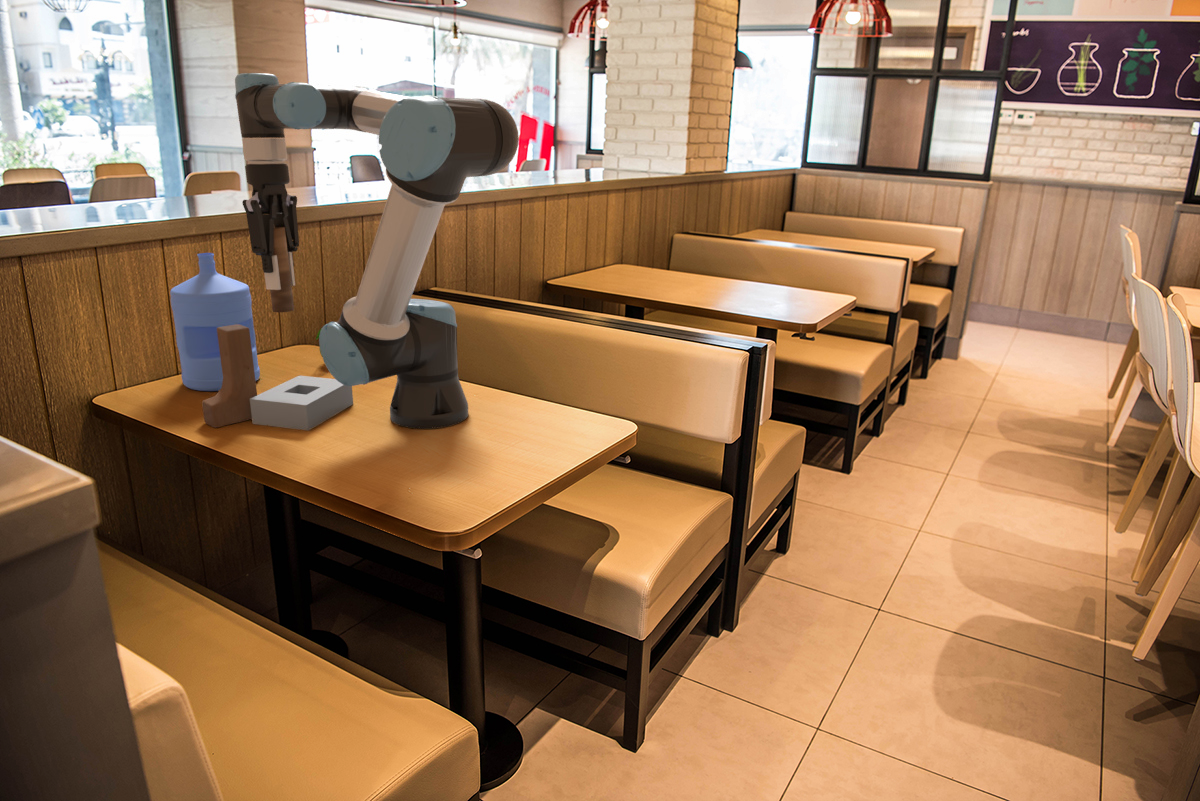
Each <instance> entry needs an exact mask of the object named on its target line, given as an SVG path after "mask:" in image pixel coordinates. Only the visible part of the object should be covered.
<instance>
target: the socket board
mask: <svg viewBox="0 0 1200 801" xmlns="http://www.w3.org/2000/svg"><path fill="white" fill-rule="evenodd" d="M352 405H354V395H353V386H346V385H343V384H341V383H340V382H338V381H337V380H336V379H335V378H327V377H318V376H316V377H315V376H308V375H298V376H295V377H293V378H291V379H289V380H287V381H285V382H283V383H281V384H277V385H276V386H274V387H271V388H269V389H268V390H265V391H263V392H261V393H259V394H257V396H255V397H253V398H251V399H250V406H251V414H252V419H251V420H252V425H260V426H267V425H268V427H277V428H283V429H284V428H285V429H294V430H300V429H301V430H303V431H310V430H312V429H313V428H315V427H317V426H318V425H320V424H322V423H324V422H325V421H328V420H329V419H331V418H333V417H334V416H336V415H337V414H339V413H341V412H342V411H344V410H345V409H347V408H349V407H350V406H352ZM301 430H300V431H301Z"/></svg>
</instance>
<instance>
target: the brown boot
mask: <svg viewBox="0 0 1200 801" xmlns="http://www.w3.org/2000/svg"><path fill="white" fill-rule="evenodd" d="M217 336H218V343H219V351H220V358H221V366H222V373H223V382H222V388H221V389H220V390H219V391H217V393H216V394H215V396H212V397H209V398H206V399H204V400H202V401H201V405H202V412H203V419H204V423H205V424H207V425H209V426H210V427H212V428H214V429H218V428H221V426H222V427H224V426H225V425H226V426H230V425H233V424H237V423H241V422H242V423H243V422H246V421H249V420H252V414H251V406H250V399H251V398H253V397H255V396H257V395H258V390H257V383H256V382H257V381H255V373H254V364H253V356H252V347H251V339H250V331H249V328H248V327H245V326H242V325H240V324H235V325H229V326H223V327H218V328H217Z"/></svg>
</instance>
